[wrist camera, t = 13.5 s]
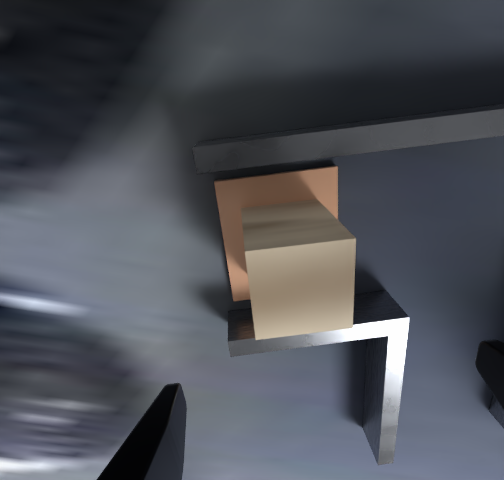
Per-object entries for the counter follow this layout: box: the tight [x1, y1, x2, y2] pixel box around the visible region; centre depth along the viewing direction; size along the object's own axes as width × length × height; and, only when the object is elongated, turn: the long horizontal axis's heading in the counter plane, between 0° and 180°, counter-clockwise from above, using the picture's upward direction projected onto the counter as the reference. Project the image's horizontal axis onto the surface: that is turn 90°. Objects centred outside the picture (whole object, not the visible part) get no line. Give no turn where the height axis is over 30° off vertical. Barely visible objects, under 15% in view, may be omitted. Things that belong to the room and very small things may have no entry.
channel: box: [192, 104, 504, 465], centre depth 20 cm, size 22×25×3 cm
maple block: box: [241, 199, 356, 340], centre depth 16 cm, size 4×4×6 cm
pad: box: [214, 165, 338, 301], centre depth 19 cm, size 7×8×1 cm
